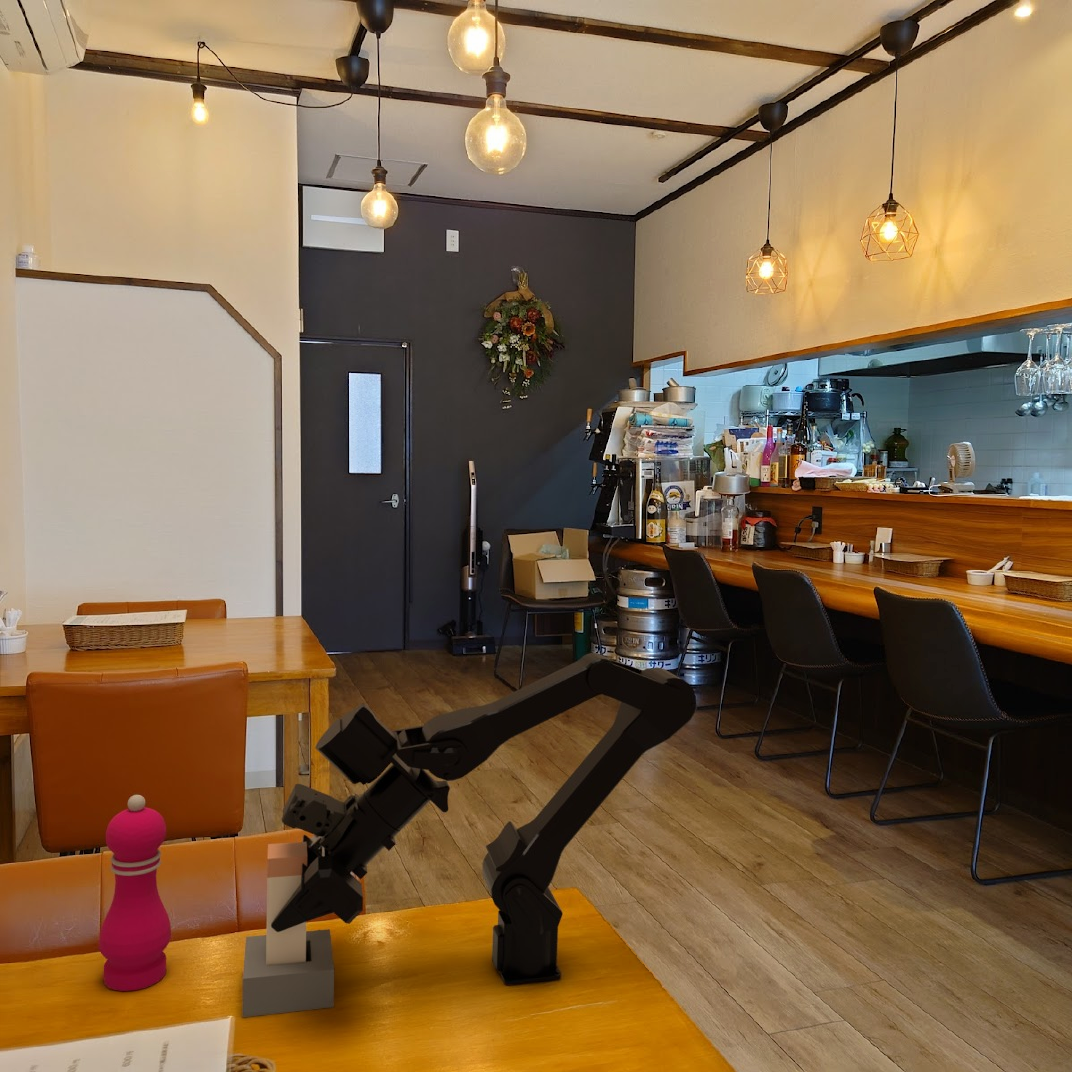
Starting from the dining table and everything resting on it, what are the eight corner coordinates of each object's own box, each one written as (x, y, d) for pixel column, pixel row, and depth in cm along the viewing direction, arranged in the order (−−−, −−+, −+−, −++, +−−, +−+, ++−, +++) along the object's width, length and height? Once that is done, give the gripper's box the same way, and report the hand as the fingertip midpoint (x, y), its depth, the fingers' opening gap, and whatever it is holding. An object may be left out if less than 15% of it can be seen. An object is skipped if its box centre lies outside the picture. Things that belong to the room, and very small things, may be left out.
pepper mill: (145, 998, 99) (146, 809, 98) (83, 989, 100) (84, 802, 99) (184, 964, 106) (186, 787, 105) (126, 955, 107) (127, 781, 106)
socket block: (329, 963, 107) (329, 929, 107) (333, 1007, 98) (334, 969, 98) (245, 972, 104) (246, 936, 104) (242, 1017, 96) (242, 978, 96)
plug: (304, 976, 104) (306, 841, 103) (305, 995, 100) (307, 855, 99) (266, 980, 103) (268, 844, 102) (265, 999, 99) (267, 858, 98)
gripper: (327, 737, 110) (226, 836, 108) (330, 789, 92) (209, 909, 90) (395, 801, 112) (297, 899, 110) (410, 864, 94) (293, 983, 92)
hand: (274, 919), depth 100 cm, fingers closed on plug, 4 cm apart
